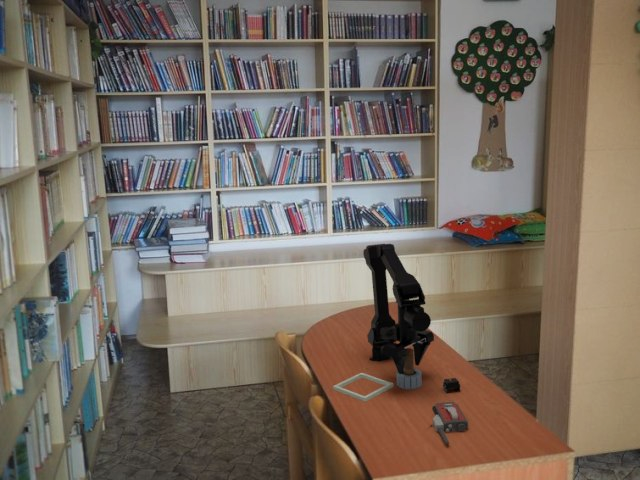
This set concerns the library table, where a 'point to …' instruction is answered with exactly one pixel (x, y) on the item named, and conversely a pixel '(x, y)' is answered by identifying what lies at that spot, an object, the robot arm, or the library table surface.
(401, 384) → the ring
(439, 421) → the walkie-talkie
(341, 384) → the tray
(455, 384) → the black angular piece
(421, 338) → the robot arm
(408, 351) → the dowel
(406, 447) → the library table surface
